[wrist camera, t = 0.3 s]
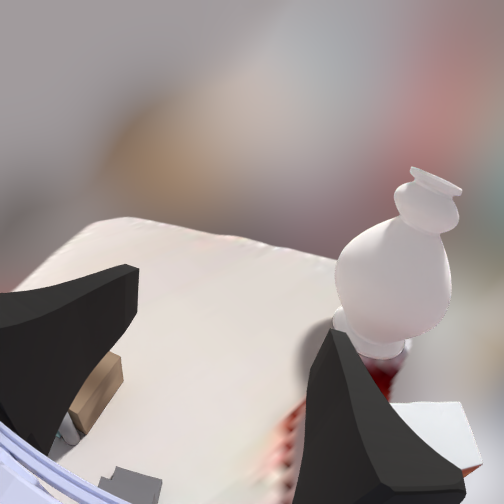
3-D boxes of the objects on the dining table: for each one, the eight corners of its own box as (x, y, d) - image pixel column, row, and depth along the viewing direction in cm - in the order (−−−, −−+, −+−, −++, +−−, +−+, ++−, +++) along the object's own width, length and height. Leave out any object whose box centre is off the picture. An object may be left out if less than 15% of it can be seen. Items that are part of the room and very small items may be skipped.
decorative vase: (401, 307, 53) (457, 182, 42) (429, 378, 37) (520, 223, 26) (313, 287, 53) (360, 145, 42) (319, 363, 37) (401, 170, 26)
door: (-28, 391, 19) (-43, 365, 18) (-18, 376, 22) (-32, 350, 20) (76, 447, 20) (64, 427, 18) (84, 428, 22) (75, 405, 20)
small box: (311, 531, 18) (396, 483, 12) (309, 473, 24) (377, 399, 18) (389, 522, 18) (486, 463, 12) (381, 471, 24) (460, 398, 18)
